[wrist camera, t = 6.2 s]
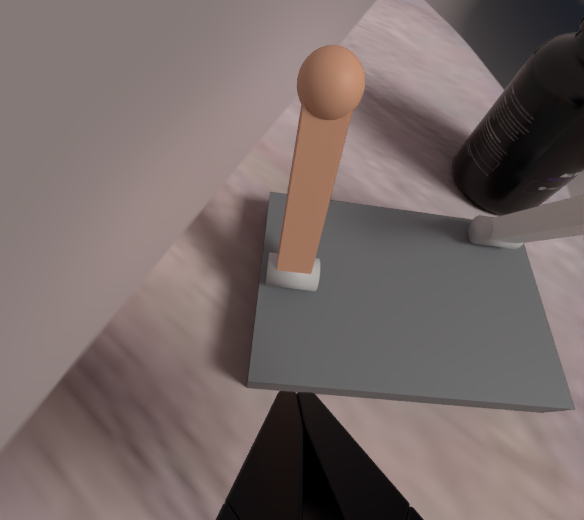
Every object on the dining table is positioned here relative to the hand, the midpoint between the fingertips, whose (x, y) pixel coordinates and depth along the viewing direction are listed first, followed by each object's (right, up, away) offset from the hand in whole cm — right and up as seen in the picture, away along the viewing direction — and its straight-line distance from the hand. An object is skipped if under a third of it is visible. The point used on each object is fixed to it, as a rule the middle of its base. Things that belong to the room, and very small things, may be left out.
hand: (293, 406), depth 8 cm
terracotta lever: (0, +3, +8) cm, 9 cm away
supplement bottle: (+15, +9, +18) cm, 25 cm away
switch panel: (+6, +1, +11) cm, 13 cm away
